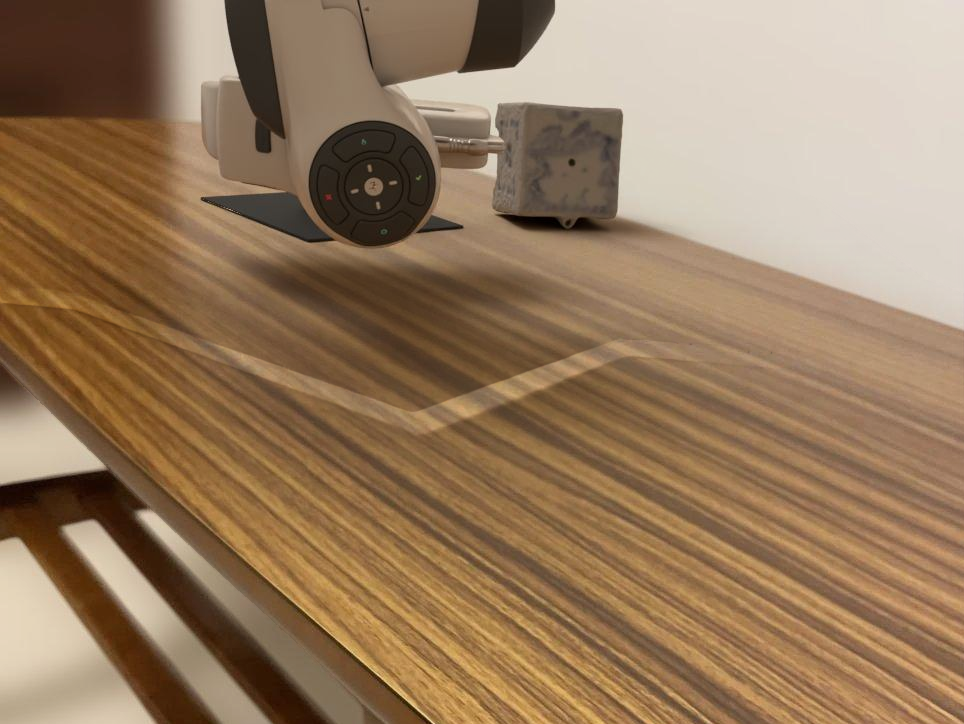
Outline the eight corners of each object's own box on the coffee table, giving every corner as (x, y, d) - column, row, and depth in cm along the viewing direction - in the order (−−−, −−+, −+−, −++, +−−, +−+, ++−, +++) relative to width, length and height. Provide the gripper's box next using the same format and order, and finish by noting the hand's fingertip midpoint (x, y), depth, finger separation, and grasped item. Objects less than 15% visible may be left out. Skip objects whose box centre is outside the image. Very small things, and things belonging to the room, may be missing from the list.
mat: (308, 242, 96) (308, 239, 96) (200, 199, 106) (200, 197, 106) (463, 227, 106) (463, 225, 106) (352, 190, 116) (352, 188, 116)
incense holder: (581, 211, 119) (594, 98, 114) (617, 231, 112) (632, 111, 107) (485, 208, 115) (494, 91, 110) (516, 229, 108) (527, 104, 104)
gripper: (514, 102, 82) (482, 77, 94) (194, 74, 77) (203, 52, 89) (506, 199, 84) (475, 163, 96) (196, 177, 80) (205, 142, 92)
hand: (342, 109), depth 93 cm, fingers open, 8 cm apart
